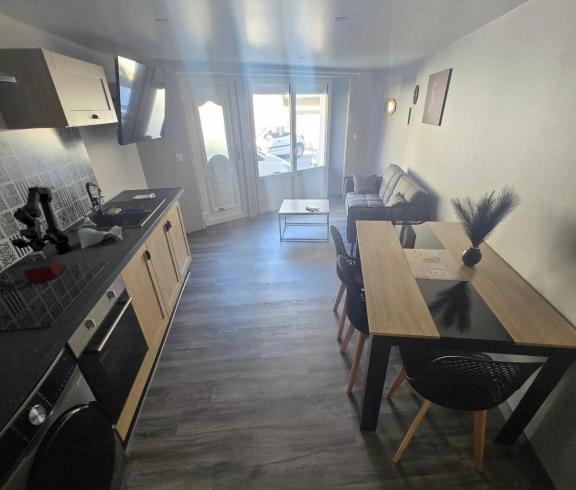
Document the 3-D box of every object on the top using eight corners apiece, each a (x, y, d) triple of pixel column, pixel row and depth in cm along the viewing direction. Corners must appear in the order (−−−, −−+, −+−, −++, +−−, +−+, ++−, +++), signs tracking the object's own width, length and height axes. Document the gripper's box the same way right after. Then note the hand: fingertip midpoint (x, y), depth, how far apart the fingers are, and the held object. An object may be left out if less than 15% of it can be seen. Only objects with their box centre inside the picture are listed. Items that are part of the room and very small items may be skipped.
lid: (29, 259, 159) (22, 251, 155) (54, 255, 162) (49, 247, 158) (23, 272, 152) (16, 263, 148) (50, 267, 154) (44, 258, 151)
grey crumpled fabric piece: (126, 232, 210) (121, 219, 205) (123, 242, 195) (117, 227, 190) (87, 239, 204) (81, 225, 199) (81, 249, 189) (74, 235, 184)
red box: (37, 274, 164) (31, 263, 160) (62, 269, 166) (56, 259, 163) (30, 282, 155) (23, 272, 152) (56, 277, 158) (50, 267, 154)
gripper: (2, 224, 149) (5, 253, 147) (43, 218, 153) (48, 246, 151) (17, 234, 160) (21, 261, 157) (56, 228, 164) (60, 254, 162)
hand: (37, 255), depth 157 cm, fingers closed, pressing on lid
